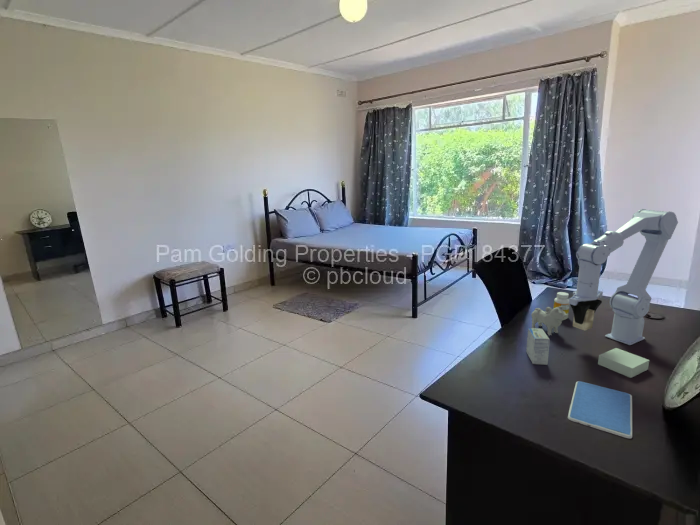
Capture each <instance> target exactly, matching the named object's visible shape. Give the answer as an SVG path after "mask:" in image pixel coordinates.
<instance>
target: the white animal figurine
mask: <svg viewBox="0 0 700 525" xmlns="http://www.w3.org/2000/svg"><path fill="white" fill-rule="evenodd" d="M562 308H563V307H562V306H560V307H556V308H554V309H553V308H552V307H550V306H547V307H545V310H543V309H542V308H540V307H535V309H534V311H532V312H531V314H530V316H531V328H537V327H536V323H537V324H538V327H541V326H542V327H543V325H545V326H546V328H547V329H546V330H547V334H548V335H547V334H546V335H547V336H550V335H551V336H553V335H552V332H555V334H559V331H558V330H559V328H558V327H561V324H562V322H563V321H565V320H567V319H568V318H569V314H566V313H565V312H564V311H563V310H562Z"/></svg>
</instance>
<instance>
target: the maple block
mask: <svg viewBox="0 0 700 525" xmlns="http://www.w3.org/2000/svg"><path fill="white" fill-rule="evenodd" d="M594 317H595V313H594V310H591V309H588V310H587V312H586V314H585V318H584V322H583V324H579V323H576V322H575V319H574V318H573V319H572V320H573V321H572V327H573V328H577V329H579V330H582V331H584V332H585V331H587V330H590V329H592V328H593V323H594Z"/></svg>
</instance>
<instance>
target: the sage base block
mask: <svg viewBox="0 0 700 525" xmlns="http://www.w3.org/2000/svg"><path fill="white" fill-rule="evenodd" d="M597 359H598V361H597V365H599V366H601V367H603V368H607V369H608V370H611V371H613V372H616V373H618V374H621V375H623V376H625V377H626V378H630V379H631V378H633V377H634V378H635V377H636V376H637V375H640V374H642V373H643V372H645V371H647V370H649V364H650V359H647V358H645V357H642V356H640V355H637V354H634V353H631V352H630V351H629V352H628V351H626V350H622V349H620V348H617V347H615V348H612V349H610V350H608V351H605V352H603V353H600V354H599V355H598V358H597Z"/></svg>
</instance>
